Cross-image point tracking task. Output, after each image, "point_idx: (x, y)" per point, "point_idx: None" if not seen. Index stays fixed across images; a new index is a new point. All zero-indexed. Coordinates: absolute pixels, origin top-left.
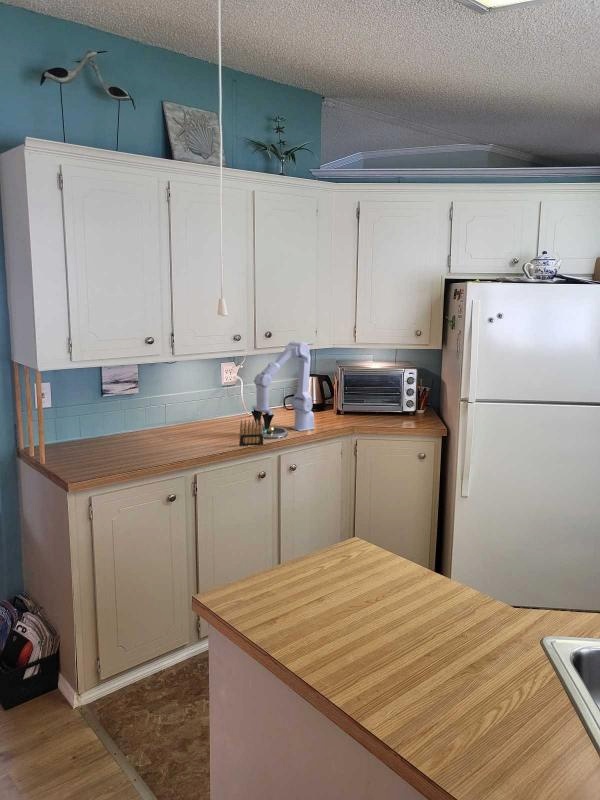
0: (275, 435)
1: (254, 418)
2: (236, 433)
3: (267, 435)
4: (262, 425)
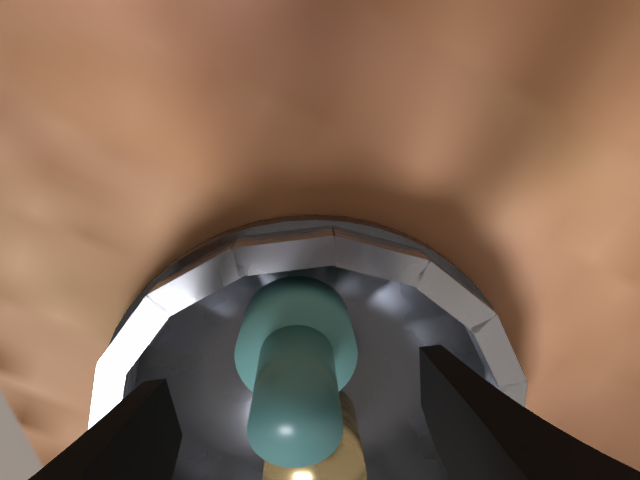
0: (96, 410)
1: (527, 424)
2: (602, 74)
3: (121, 329)
4: (252, 403)
